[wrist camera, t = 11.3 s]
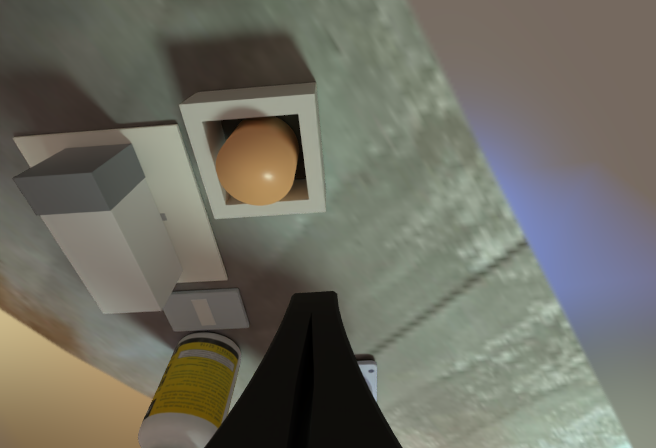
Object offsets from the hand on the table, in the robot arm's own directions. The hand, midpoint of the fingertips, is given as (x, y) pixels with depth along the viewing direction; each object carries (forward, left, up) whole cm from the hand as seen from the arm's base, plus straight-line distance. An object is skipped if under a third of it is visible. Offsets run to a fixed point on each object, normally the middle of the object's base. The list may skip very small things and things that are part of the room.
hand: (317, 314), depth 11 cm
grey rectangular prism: (-2, +12, -10) cm, 16 cm away
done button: (+2, +3, -10) cm, 10 cm away
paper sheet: (-2, +12, -10) cm, 16 cm away
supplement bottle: (-15, +11, -11) cm, 22 cm away
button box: (+2, +3, -10) cm, 11 cm away
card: (-10, +10, -10) cm, 18 cm away
